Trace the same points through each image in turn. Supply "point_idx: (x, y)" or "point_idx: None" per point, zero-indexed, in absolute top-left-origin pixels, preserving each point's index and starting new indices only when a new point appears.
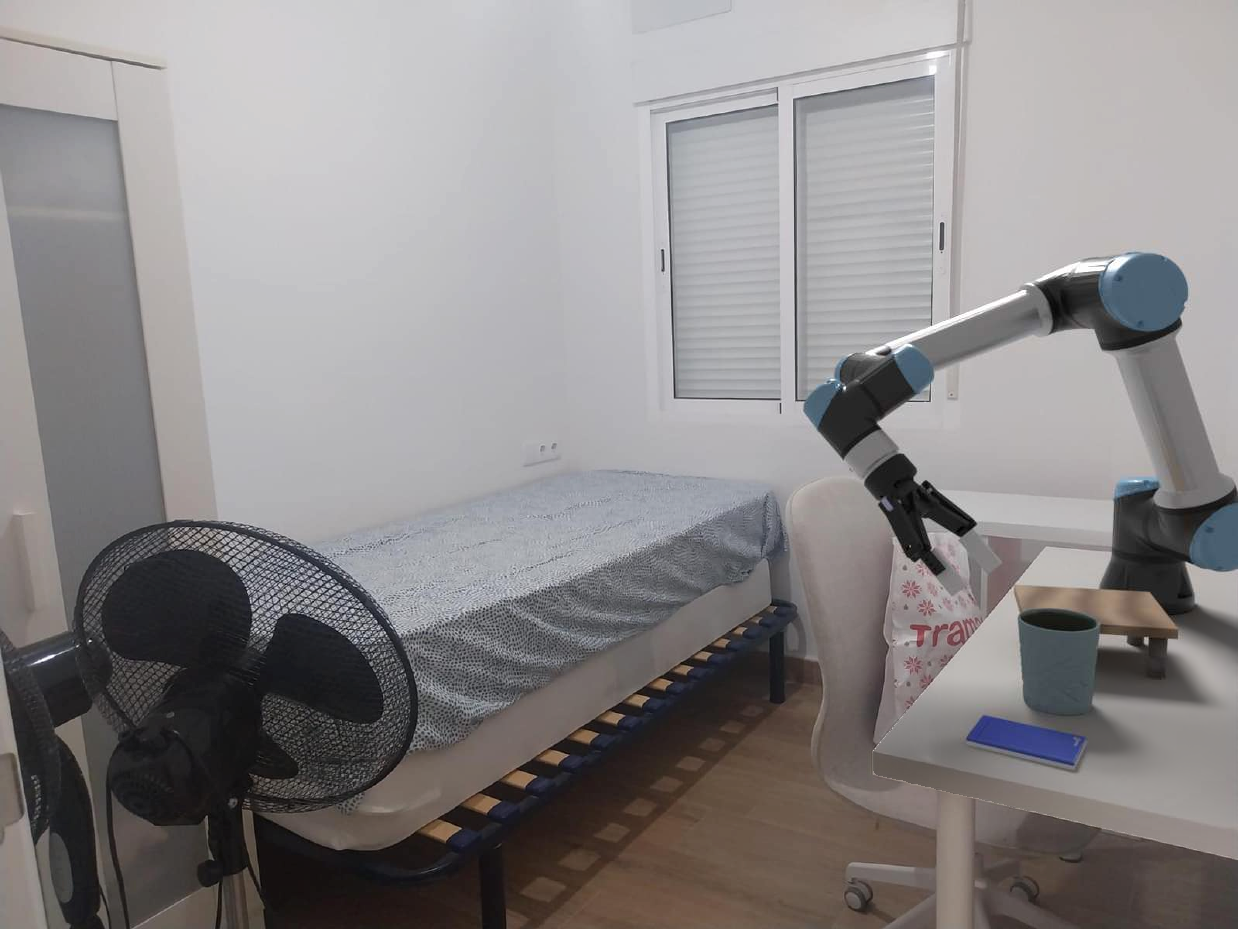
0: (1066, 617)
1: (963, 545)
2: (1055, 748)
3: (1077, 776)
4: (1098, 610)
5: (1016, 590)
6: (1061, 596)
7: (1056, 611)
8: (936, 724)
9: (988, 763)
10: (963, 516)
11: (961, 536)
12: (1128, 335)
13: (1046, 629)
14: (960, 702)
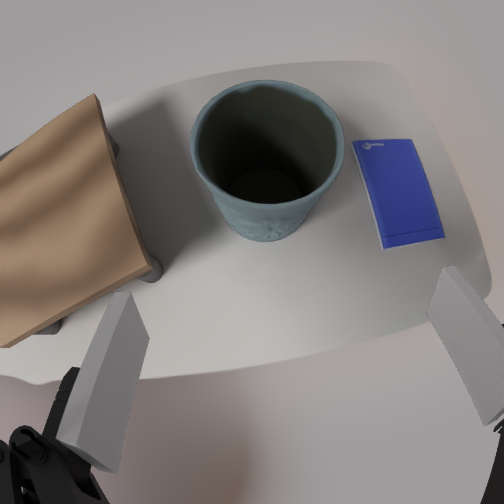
0: (200, 149)
1: (121, 446)
2: (402, 157)
3: (414, 139)
4: (51, 189)
5: (17, 336)
6: (13, 261)
7: (199, 161)
8: (426, 288)
9: (453, 206)
10: (17, 496)
11: (87, 469)
12: None
13: (342, 133)
14: (353, 299)
